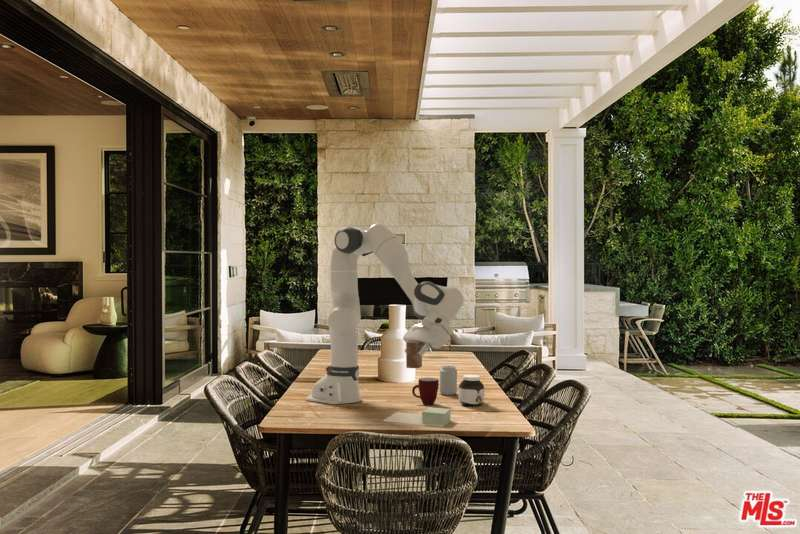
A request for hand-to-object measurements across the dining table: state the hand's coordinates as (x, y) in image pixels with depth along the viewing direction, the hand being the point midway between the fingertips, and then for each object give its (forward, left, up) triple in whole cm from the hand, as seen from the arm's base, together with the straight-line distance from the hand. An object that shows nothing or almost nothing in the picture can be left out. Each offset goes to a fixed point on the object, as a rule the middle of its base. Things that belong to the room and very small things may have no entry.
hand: (412, 353), depth 244 cm
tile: (+2, 0, -24) cm, 24 cm away
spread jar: (+12, +39, -25) cm, 47 cm away
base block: (+9, -1, -23) cm, 25 cm away
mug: (-5, +31, -24) cm, 40 cm away
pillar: (0, +1, -5) cm, 5 cm away
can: (-2, +55, -24) cm, 60 cm away
